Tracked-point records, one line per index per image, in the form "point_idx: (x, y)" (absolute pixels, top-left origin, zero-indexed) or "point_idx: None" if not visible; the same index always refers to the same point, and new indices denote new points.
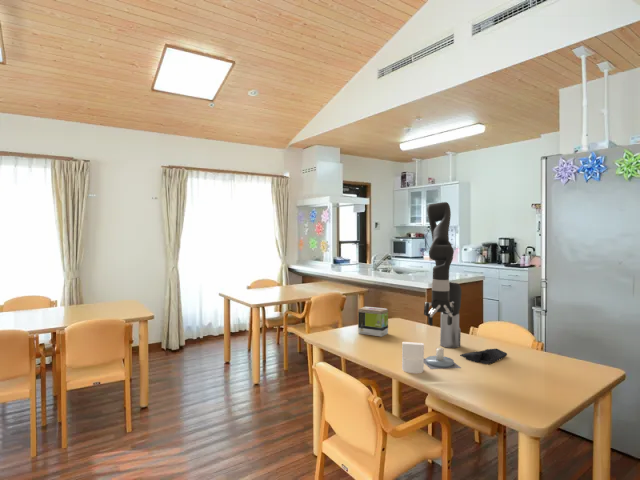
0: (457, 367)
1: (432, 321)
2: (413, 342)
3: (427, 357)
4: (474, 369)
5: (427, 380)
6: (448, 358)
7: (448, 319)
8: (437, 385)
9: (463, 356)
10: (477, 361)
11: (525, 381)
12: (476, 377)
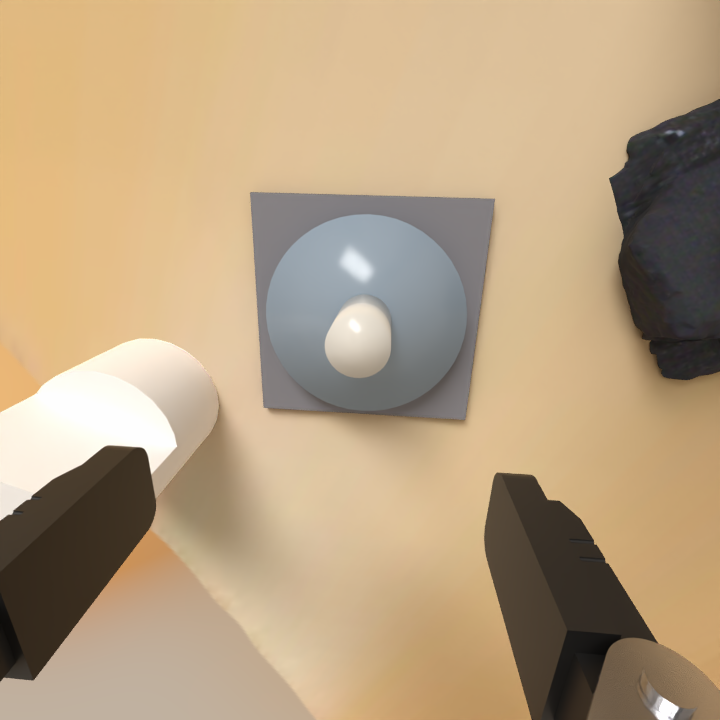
0: (442, 409)
1: (103, 585)
2: (20, 489)
3: (292, 251)
4: (543, 428)
5: (205, 521)
6: (447, 300)
7: (524, 606)
8: (234, 572)
9: (645, 189)
10: (656, 339)
11: (682, 605)
12: (471, 528)
